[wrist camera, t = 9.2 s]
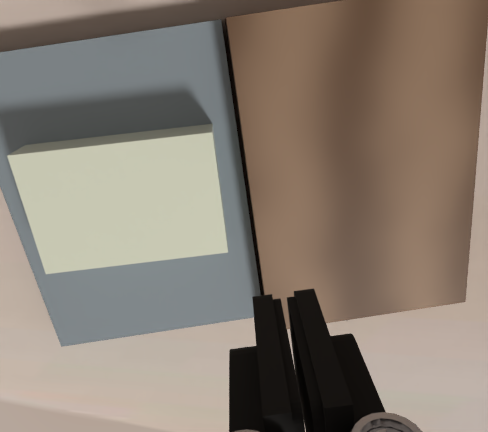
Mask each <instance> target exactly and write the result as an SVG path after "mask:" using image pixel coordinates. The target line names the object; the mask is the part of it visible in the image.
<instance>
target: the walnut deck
mask: <svg viewBox="0 0 488 432" xmlns="http://www.w3.org/2000/svg"><path fill="white" fill-rule="evenodd" d="M225 23H226V30H227V37H228V44H229V51H230V58H231V65H232V73H233V80H234V87H235V94H236V101H237V108H238V115H239V122H240V129H241V137H242V144H243V151H244V158H245V165H246V172H247V179H248V186H249V194H250V201H251V208H252V215H253V222H254V229H255V236H256V243H257V251H258V258H259V265H260V272H261V279H262V286H263V293H264V295H269V294H272V297H273V299H279V298H281V303H282V308H283V313H284V318H285V323H286V328H287V329H290V322H289V314H288V305H287V297H294V291H298V290H306V289H314V290H315V293H316V296H317V299H318V302H319V305H320V308H321V311H322V313H323V316H324V319H325V322H326V323H330V322H336V321H343V320H350V319H356V318H363V317H369V316H376V315H382V314H389V313H396V312H402V311H409V310H415V309H422V308H429V307H435V306H442V305H448V304H455V303H461V302H465V300H466V288H467V275H468V263H469V250H470V238H471V225H472V213H473V200H474V188H475V175H476V163H477V151H478V138H479V126H480V113H481V101H482V88H483V76H484V63H485V51H486V38H487V26H488V0H341V1H334V2H327V3H320V4H314V5H307V6H300V7H294V8H287V9H280V10H273V11H267V12H260V13H253V14H247V15H240V16H233V17H226V19H225Z"/></svg>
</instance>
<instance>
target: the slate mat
mask: <svg viewBox="0 0 488 432" xmlns="http://www.w3.org/2000/svg"><path fill="white" fill-rule="evenodd" d="M205 124H213V130H214V138H215V146H216V153H217V161H218V169H219V177H220V184H221V192H222V200H223V208H224V215H225V223H226V231H227V242H228V253H220V254H212V255H203V256H195V257H187V258H178V259H170V260H161V261H153V262H145V263H136V264H128V265H119V266H111V267H103V268H94V269H86V270H77V271H69V272H61V273H52V274H46V273H45V270H44V267H43V264H42V261H41V258H40V255H39V252H38V249H37V246H36V243H35V240H34V237H33V233H32V230H31V227H30V224H29V221H28V218H27V215H26V212H25V209H24V206H23V203H22V200H21V197H20V194H19V191H18V188H17V185H16V181H15V178H14V175H13V172H12V169H11V166H10V163H9V160H8V157H7V155H9V154H11V153H13V152H14V151H16V150H18V149H19V148H21V147H23V146H25V145H29V144H38V143H47V142H56V141H64V140H73V139H82V138H91V137H100V136H108V135H117V134H126V133H135V132H144V131H152V130H161V129H170V128H179V127H188V126H196V125H205ZM0 187H1V190H2V192H3V195H4V198H5V200H6V203H7V205H8V208H9V211H10V213H11V216H12V219H13V221H14V224H15V226H16V229H17V232H18V234H19V237H20V239H21V242H22V245H23V247H24V250H25V253H26V255H27V258H28V260H29V263H30V266H31V268H32V271H33V273H34V276H35V279H36V281H37V284H38V286H39V289H40V292H41V294H42V297H43V300H44V302H45V305H46V307H47V310H48V313H49V315H50V318H51V320H52V323H53V326H54V328H55V331H56V334H57V336H58V339H59V341H60V344H61V347H62V346H69V345H75V344H82V343H88V342H95V341H101V340H108V339H115V338H121V337H128V336H134V335H141V334H148V333H154V332H161V331H167V330H174V329H181V328H187V327H194V326H200V325H207V324H214V323H220V322H227V321H233V320H240V319H246V318H253V317H254V310H253V299H252V297H254V296H261V294H260V287H259V280H258V273H257V266H256V259H255V252H254V245H253V238H252V231H251V224H250V217H249V210H248V203H247V196H246V189H245V182H244V175H243V169H242V162H241V155H240V148H239V141H238V134H237V127H236V120H235V113H234V106H233V99H232V92H231V85H230V78H229V71H228V64H227V57H226V50H225V43H224V36H223V29H222V22H221V20H214V21H207V22H200V23H194V24H187V25H180V26H174V27H167V28H160V29H153V30H147V31H140V32H133V33H127V34H120V35H113V36H106V37H100V38H93V39H86V40H80V41H73V42H66V43H59V44H53V45H46V46H39V47H33V48H26V49H19V50H12V51H6V52H0Z"/></svg>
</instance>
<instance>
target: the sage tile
mask: <svg viewBox="0 0 488 432" xmlns="http://www.w3.org/2000/svg"><path fill="white" fill-rule="evenodd" d="M7 157H8V160H9V163H10V166H11V169H12V172H13V175H14V178H15V181H16V185H17V188H18V191H19V194H20V197H21V200H22V203H23V206H24V209H25V212H26V215H27V218H28V221H29V224H30V227H31V230H32V233H33V237H34V240H35V243H36V246H37V249H38V252H39V255H40V258H41V261H42V264H43V267H44V270H45V273H46V274H52V273H61V272H69V271H77V270H86V269H94V268H103V267H111V266H119V265H128V264H136V263H145V262H153V261H161V260H170V259H178V258H187V257H195V256H203V255H212V254H220V253H228V242H227V231H226V223H225V215H224V208H223V200H222V192H221V184H220V177H219V169H218V161H217V153H216V146H215V138H214V130H213V124H205V125H196V126H188V127H179V128H170V129H161V130H152V131H144V132H135V133H126V134H117V135H108V136H100V137H91V138H82V139H73V140H64V141H56V142H47V143H38V144H29V145H25V146H23V147H21V148H19V149H18V150H16V151H14V152H13V153H11V154H9V155H7Z"/></svg>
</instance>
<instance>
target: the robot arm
mask: <svg viewBox="0 0 488 432" xmlns="http://www.w3.org/2000/svg"><path fill="white" fill-rule="evenodd" d="M252 299H253V310H254V322H255V333H256V345H257V346H253V347H245V348H238V349H230V361H229V432H305V428H306V432H422V431H421V430H420V429H419V428H418V427H417V425H416V424H414V423H413V422H411V421H410V420H408V419H407V418H405V417H402V416H399V415H397V414H393V413H386V412H385V410H384V407H383V405H382V403H381V400H380V398H379V395H378V393H377V391H376V388H375V386H374V383H373V381H372V379H371V376H370V374H369V371H368V369H367V367H366V364H365V362H364V359H363V357H362V355H361V352H360V350H359V348H358V345H357V343H356V340H355V338H354V336H353V335H352V334H344V335H336V336H330V334H329V331H328V328H327V325H326V322H325V319H324V316H323V313H322V311H321V308H320V305H319V302H318V299H317V296H316V293H315V290H314V289H306V290H298V291H294V297H287V305H288V314H289V322H290V331H291V339H292V348H293V356H294V364H293V359H292V354H291V349H290V344H289V339H288V333H287V328H286V323H285V318H284V313H283V308H282V303H281V298H279V299H273V297H272V294H269V295H261V296H254V297H252ZM294 365H295V369H294ZM295 373H296V374H295ZM303 418H304V419H303ZM304 423H305V427H304Z"/></svg>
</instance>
